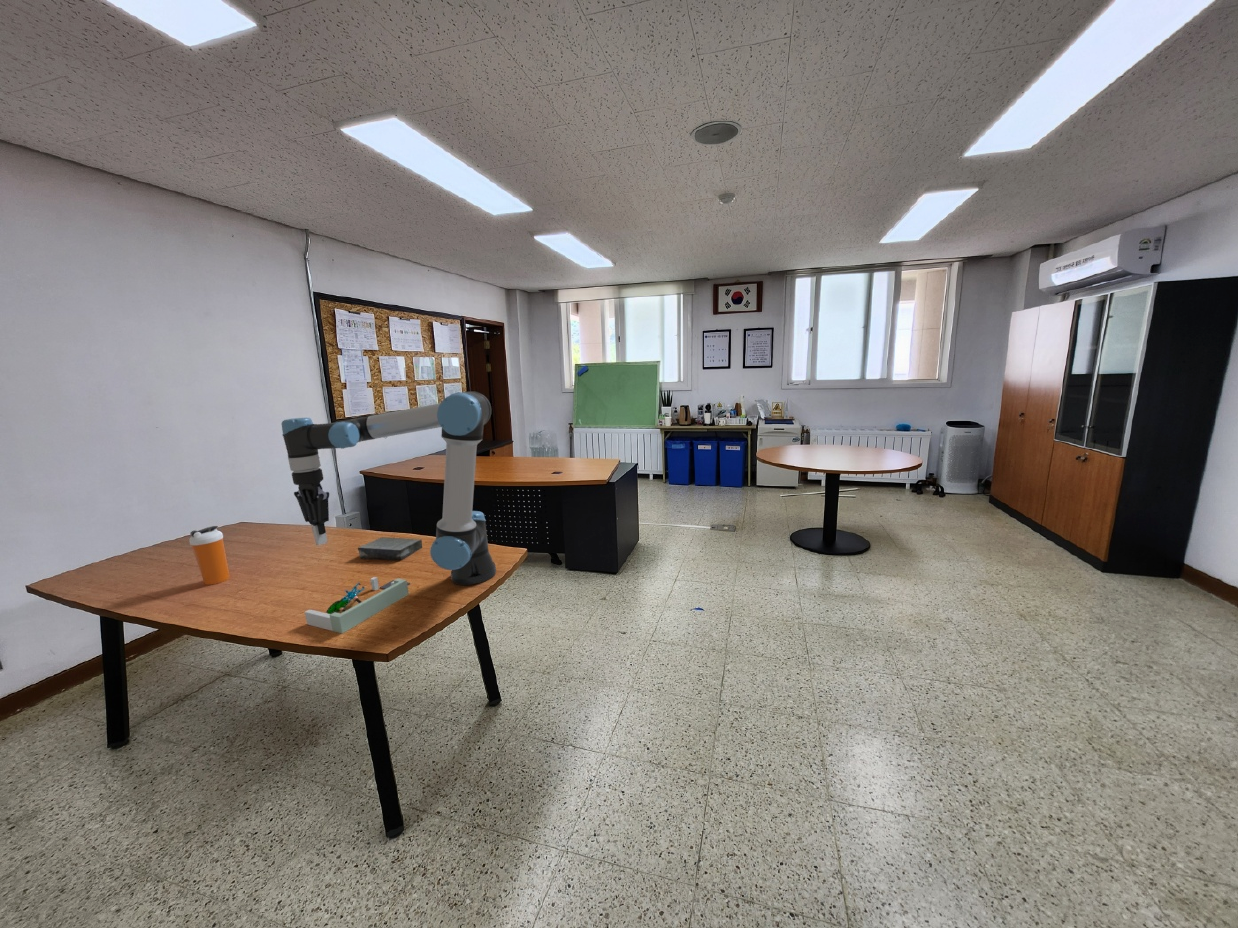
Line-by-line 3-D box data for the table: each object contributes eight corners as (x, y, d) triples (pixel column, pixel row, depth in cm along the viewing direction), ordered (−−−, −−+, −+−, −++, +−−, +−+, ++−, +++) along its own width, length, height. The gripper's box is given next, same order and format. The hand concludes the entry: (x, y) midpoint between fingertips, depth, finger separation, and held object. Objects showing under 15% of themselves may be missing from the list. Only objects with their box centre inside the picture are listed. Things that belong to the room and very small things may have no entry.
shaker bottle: (238, 577, 164) (225, 526, 159) (208, 588, 156) (194, 534, 152) (225, 573, 167) (213, 523, 163) (195, 584, 159) (181, 532, 155)
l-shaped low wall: (399, 592, 145) (397, 581, 144) (332, 630, 124) (330, 618, 123) (376, 587, 149) (374, 576, 148) (307, 624, 128) (304, 611, 128)
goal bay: (408, 594, 143) (406, 580, 142) (342, 633, 123) (339, 617, 122) (399, 592, 145) (397, 578, 144) (332, 630, 124) (329, 614, 123)
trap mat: (410, 583, 151) (410, 583, 151) (397, 591, 146) (397, 590, 146) (393, 580, 154) (393, 579, 154) (379, 588, 149) (379, 587, 149)
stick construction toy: (359, 589, 144) (359, 577, 139) (375, 602, 143) (375, 590, 138) (324, 616, 135) (322, 604, 130) (341, 630, 134) (339, 618, 129)
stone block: (401, 561, 171) (399, 549, 170) (358, 559, 175) (356, 547, 174) (424, 548, 184) (422, 536, 183) (383, 546, 188) (381, 535, 187)
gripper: (333, 467, 133) (347, 541, 137) (305, 466, 138) (319, 537, 142) (308, 473, 126) (324, 550, 131) (279, 471, 131) (295, 546, 136)
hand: (321, 543), depth 137 cm, fingers closed
